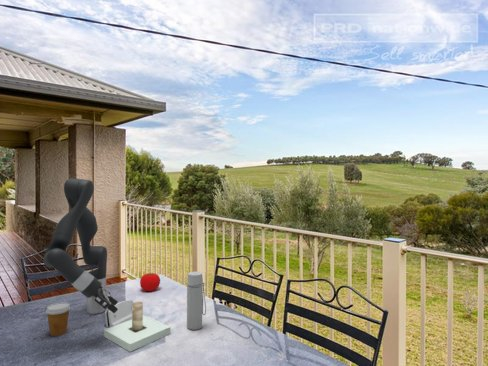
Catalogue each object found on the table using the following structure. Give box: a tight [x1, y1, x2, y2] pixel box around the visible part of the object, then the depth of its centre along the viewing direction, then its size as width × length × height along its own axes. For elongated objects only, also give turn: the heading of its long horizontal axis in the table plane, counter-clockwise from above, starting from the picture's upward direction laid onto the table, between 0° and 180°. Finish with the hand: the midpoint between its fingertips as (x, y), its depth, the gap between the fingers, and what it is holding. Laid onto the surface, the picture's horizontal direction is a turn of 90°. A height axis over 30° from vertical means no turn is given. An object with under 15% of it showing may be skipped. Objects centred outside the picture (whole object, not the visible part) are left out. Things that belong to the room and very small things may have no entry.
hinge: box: [104, 300, 134, 328], centre depth 158 cm, size 17×5×10 cm, turn 155°
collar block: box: [103, 314, 171, 353], centre depth 144 cm, size 20×20×3 cm
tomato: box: [139, 272, 161, 292], centre depth 203 cm, size 12×12×10 cm
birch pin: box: [132, 301, 144, 333], centre depth 144 cm, size 4×4×14 cm
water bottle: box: [186, 271, 207, 331], centre depth 152 cm, size 9×8×25 cm
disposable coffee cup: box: [45, 301, 71, 337], centre depth 146 cm, size 10×10×12 cm
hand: (116, 307), depth 141 cm, fingers open, 8 cm apart
